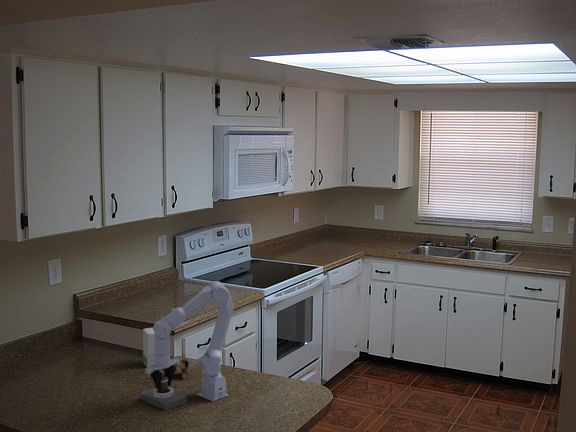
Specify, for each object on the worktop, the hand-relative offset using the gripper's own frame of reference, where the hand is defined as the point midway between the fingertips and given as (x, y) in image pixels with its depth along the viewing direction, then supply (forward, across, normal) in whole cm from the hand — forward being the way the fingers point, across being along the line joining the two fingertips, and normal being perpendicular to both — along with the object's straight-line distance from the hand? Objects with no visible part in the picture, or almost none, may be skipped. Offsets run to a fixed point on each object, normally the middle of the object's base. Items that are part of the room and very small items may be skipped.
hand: (163, 387), depth 254 cm
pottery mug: (+6, -21, -16) cm, 27 cm away
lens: (+2, 0, 0) cm, 2 cm away
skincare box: (+6, -23, -36) cm, 43 cm away
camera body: (+5, 0, 0) cm, 5 cm away
